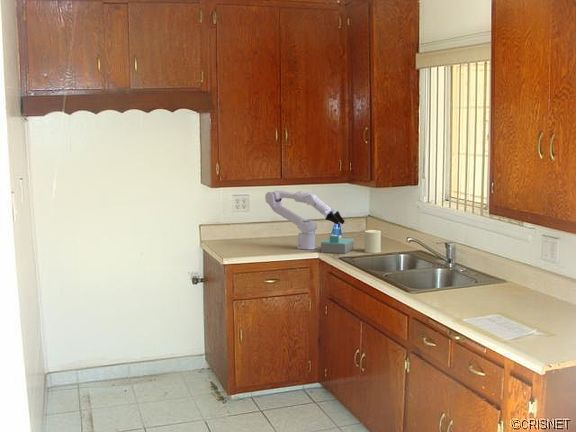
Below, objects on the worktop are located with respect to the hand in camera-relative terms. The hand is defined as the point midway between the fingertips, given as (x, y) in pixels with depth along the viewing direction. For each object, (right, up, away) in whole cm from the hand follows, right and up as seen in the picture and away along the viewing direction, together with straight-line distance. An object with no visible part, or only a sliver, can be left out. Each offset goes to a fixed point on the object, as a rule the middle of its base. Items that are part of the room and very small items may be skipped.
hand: (341, 222), depth 388 cm
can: (+18, -16, +2) cm, 24 cm away
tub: (-2, -16, +5) cm, 17 cm away
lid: (-3, -12, +1) cm, 13 cm away
